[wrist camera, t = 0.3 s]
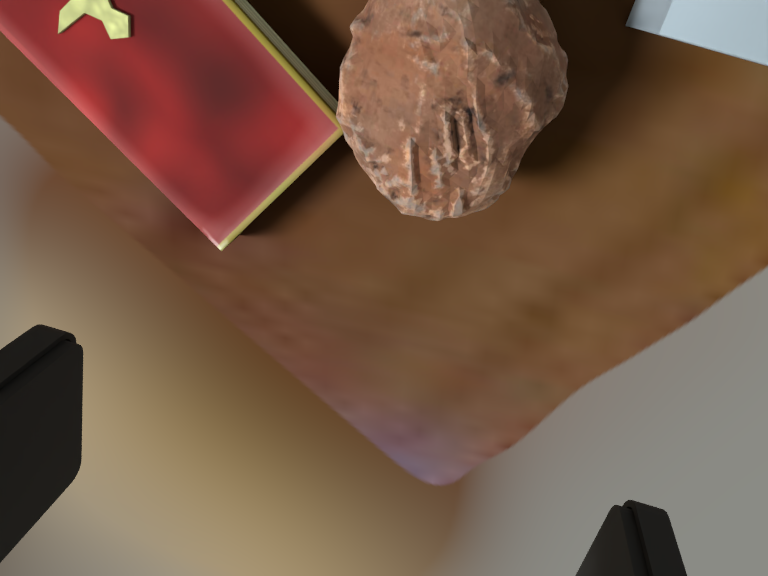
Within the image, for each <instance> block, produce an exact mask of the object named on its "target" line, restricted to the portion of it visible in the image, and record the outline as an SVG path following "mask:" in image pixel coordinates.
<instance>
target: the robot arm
mask: <svg viewBox="0 0 768 576" xmlns="http://www.w3.org/2000/svg"><path fill="white" fill-rule="evenodd" d="M82 384H83V348H82V346H81V345H79V344H76V338H75V337H74V335H73V334H71V333H68V332H65V331H62V330H59V329H55V328H52V327H48V326H45V325H36V326H34V327H32V328H31V329H29V330H28V331H26V332H25V333H23V334H22V335H21V336H19V337H18V338H16V339H15V340H14V341H12V342H11V343H9V344H8V345H6V346H5V347H4V348H2V349H1V350H0V562H1V561H2V560H3V559H4V558H5V557H6V556H7V555H8V553H9V552H10V551H11V550H12V549H13V548H14V547H15V545H16V544H17V543H18V542H19V541H20V540H21V538H23V537H24V535H25V534H26V533H27V532H28V531H29V530H30V529H31V528H32V526H33V525H34V524H35V523H36V522H37V521H38V520H39V519H40V517H41V516H42V515H43V514H44V513H45V512H46V511H47V510H48V509H49V507H50V506H51V505H52V504H53V503H54V502H55V501H56V499H57V498H58V497H59V496H60V495H61V494H62V493H63V492H64V491H65V489H66V488H67V487H68V486H69V485H70V484H71V483H72V481H73V480H74V479H75V477H76V475H77V473H78V471H79V468H80V465H81V451H82V445H81V444H82V390H83V385H82ZM576 576H687V574H686V571H685V568H684V564H683V561H682V558H681V555H680V551H679V548H678V545H677V542H676V539H675V535H674V532H673V529H672V526H671V522H670V519H669V516H668V514H667V512H666V511H664V510H663V509H659V508H657V507H653V506H649V505H646V504H643V503H640V502H636V501H633V500H628V501H626V502H625V503H624V505H623V506H618V505H614V506H613V507H612V508H611V510H610V511H609V513H608V515H607V517H606V519H605V521H604V523H603V525H602V526H601V529H600V530H599V532H598V534H597V536H596V538H595V540H594V542H593V544H592V545H591V547H590V549H589V551H588V553H587V555H586V557H585V559H584V561H583V563H582V565H581V566H580V568H579V570H578V572H577V574H576Z"/></svg>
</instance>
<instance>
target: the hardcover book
mask: <svg viewBox="0 0 768 576" xmlns="http://www.w3.org/2000/svg"><path fill="white" fill-rule="evenodd" d="M0 31H1V32H2V33H3V34H4V35H5V36H6V37H7V38H8V39H9V40H10V41H11V42H12V43H13V44H14V45H15V46H16V47H17V48H18V49H19V50H20V51H21V52H22V53H23V54H24V55H25V56H26V57H27V58H28V59H29V60H30V61H31V62H32V63H33V64H34V65H35V66H36V67H37V68H38V69H39V70H40V71H41V72H42V73H43V74H44V75H45V76H46V77H47V78H48V79H49V80H50V81H51V82H52V83H53V84H54V85H55V86H56V87H57V88H58V89H59V90H60V91H61V92H62V93H63V94H64V95H65V96H66V97H67V98H68V99H69V100H70V101H71V102H72V103H73V104H74V105H75V106H76V107H77V108H78V109H79V110H80V111H81V112H82V113H83V114H84V115H85V116H86V117H87V118H88V119H89V120H90V121H91V122H92V123H93V124H94V125H95V126H96V127H97V128H98V129H99V130H100V131H101V132H102V133H103V134H104V135H105V136H106V137H107V138H108V139H109V140H110V141H111V142H112V143H113V144H114V145H115V146H116V147H117V148H118V149H119V150H120V151H121V152H122V153H123V154H124V155H125V156H126V157H127V158H128V159H129V160H130V161H131V162H132V163H133V164H134V165H135V166H136V167H137V168H138V169H139V170H140V171H141V172H142V173H143V174H144V175H145V176H146V177H147V178H148V179H149V180H150V181H151V182H152V183H153V184H154V185H155V186H156V187H157V188H158V189H159V190H161V191H162V192H163V193H164V194H165V195H166V196H167V197H168V198H169V199H170V200H171V201H172V202H173V203H174V204H175V205H176V206H177V207H178V208H179V209H180V210H181V211H182V212H183V213H184V214H185V215H186V216H187V217H188V218H189V219H190V220H191V221H192V222H193V223H194V224H195V225H196V226H197V227H198V228H199V229H200V230H201V231H202V232H203V233H204V234H205V235H206V236H207V237H208V238H209V239H210V240H211V241H212V242H213V243H214V244H215V245H216V246H217V247H218V248H219V249H220V250H221V251H222V250H223V249H225V248H226V247H227V246H228V245H229V244H230V243H231V242H232V241H233V240H235V239H236V238H237V237H238V236H239V235H240V234H241V233H242V232H243V230H244V229H245V228H246V227H247V226H248V225H249V224H250V223H251V222H252V221H253V220H254V219H255V218H256V217H257V216H258V215H259V214H260V213H262V212H263V211H264V210H265V209H266V208H267V207H268V206H269V205H270V204H271V203H272V202H273V201H274V200H275V199H276V198H277V197H278V196H279V195H280V194H281V193H282V192H283V191H284V190H285V189H286V188H287V187H288V186H290V185H291V184H292V183H293V182H294V181H295V180H296V179H297V178H298V177H299V176H300V175H301V174H302V173H303V172H304V171H305V170H306V169H307V168H308V167H309V166H310V165H311V164H312V163H313V162H314V161H315V160H316V159H318V158H319V157H320V156H321V155H322V154H323V153H324V152H325V151H326V150H327V149H328V148H329V147H330V146H331V145H332V144H333V143H334V142H335V141H336V140H337V139H338V138H339V137H340V136H341V135H342V134H343V130H342V128H341V126H340V124H339V122H338V120H337V118H336V113H337V107H338V102H337V101H336V99H335V98H334V97H333V96H332V95H331V94H330V93H329V92H328V90H327V89H326V88H325V87H324V86H323V85H322V84H321V83H320V82H319V80H318V79H317V78H316V77H315V76H314V75H313V74H312V73H311V72H310V70H309V69H308V68H307V67H306V66H305V65H304V64H303V63H302V62H301V60H300V59H299V58H298V57H297V56H296V55H295V54H294V53H293V52H292V50H291V49H290V48H289V47H288V46H287V45H286V44H285V43H284V41H283V40H282V39H281V38H280V37H279V36H278V35H277V34H276V33H275V31H274V30H273V29H272V28H271V27H270V26H269V25H268V24H267V23H266V21H265V20H264V19H263V18H262V17H261V16H260V15H259V14H258V13H257V11H256V10H255V9H254V8H253V7H252V6H251V5H250V4H249V2H248V1H247V0H0Z"/></svg>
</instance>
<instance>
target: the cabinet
mask: <svg viewBox="0 0 768 576" xmlns="http://www.w3.org/2000/svg"><path fill="white" fill-rule="evenodd" d="M625 26H628V27H632V28H635V29H639V30H642V31H646V32H649V33H653V34H656V35H660V36H663V37H667V38H670V39H674V40H677V41H681V42H685V43H688V44H692V45H695V46H699V47H702V48H706V49H709V50H713V51H716V52H720V53H723V54H727V55H730V56H734V57H737V58H741V59H744V60H748V61H751V62H755V63H758V64H762V65H766V66H768V0H635V2H634V5H633V7H632V10H631V12H630V15H629V18H628V20H627V23H626V25H625Z"/></svg>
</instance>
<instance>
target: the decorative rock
mask: <svg viewBox="0 0 768 576" xmlns="http://www.w3.org/2000/svg"><path fill="white" fill-rule="evenodd" d="M350 30H351V32H352V35H353V39H352V42H351V45H350V47H349V49H348V51H347V53H346V55H345V57H344V59H343V61H342V64H341V66H340V78H339V101H338V107H337V113H336V118H337V120H338V122H339V124H340V126H341V128H342V130H343V133H344V136H345V140H346V142H347V143H348V144H349V145H350V147H351V148H352V149H353V152H354V155H355V158H356V159H357V161H358V162H359V164H360V166H361V167H362V168H363V169H364V170H365V172H366V173H367V174H368V175H369V177H370V178H371V179H372V181H373V182H374V183H375V185H376V186H377V189H378V190H379V191H380V192H381V193H382V194H383V195H384V196H385V197H386V198H387V199H388V200H389V201H390V202H391V203H392V204H394V205H395V206H396V207H397V208H398V210H399V211H400V212H401V213H402V214H406V215H412V216H418V217H422V218H425V219H428V220H436V221H439V220H442V219H445V218H457V217H461V216H465V215H468V214H470V213H473V212H477V211H481V210H484V209H486V208H488V207H489V206H491V205H492V204H493V203H494V202H496V201H497V200H498V198H499V196H500V195H501V194H502V193H504V192H505V191H506V190H507V189H508V188H509V187H510V183H511V180H512V178H513V176H514V174H515V173H516V171H517V169H518V167H519V164H520V161H521V159H522V157H523V155H524V153H525V151H526V150H527V148H528V147H529V145H530V144H531V142H532V141H533V140H534V138H535V137H536V136H537V134H538V133H539V132H540V131H541V130H542V129H543V128H544V127H545V126H546V125H547V124H548V123H550V122H551V120H552V119H554V118H556V117H557V115H558V114H559V112H560V111H561V109H562V108H563V105H564V102H565V98H566V94H567V90H568V82H567V77H566V73H567V65H568V59H567V55H566V52H564V51H563V50H562V49H561V47H560V45H559V43H558V41H557V33H556V31H555V28H554V26H553V23H552V21H551V19H550V16H549V14H548V12H547V10H546V9H545V8H544V7H543V6H542V5H541V4H540V2H539V0H369V1H368V3H367V4H366V6H365V8H364V10H363V11H362V12H361V13H360V14H359V15H357V16H356V18H355V19H354V21H353V22H352V24H351V25H350Z"/></svg>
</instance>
